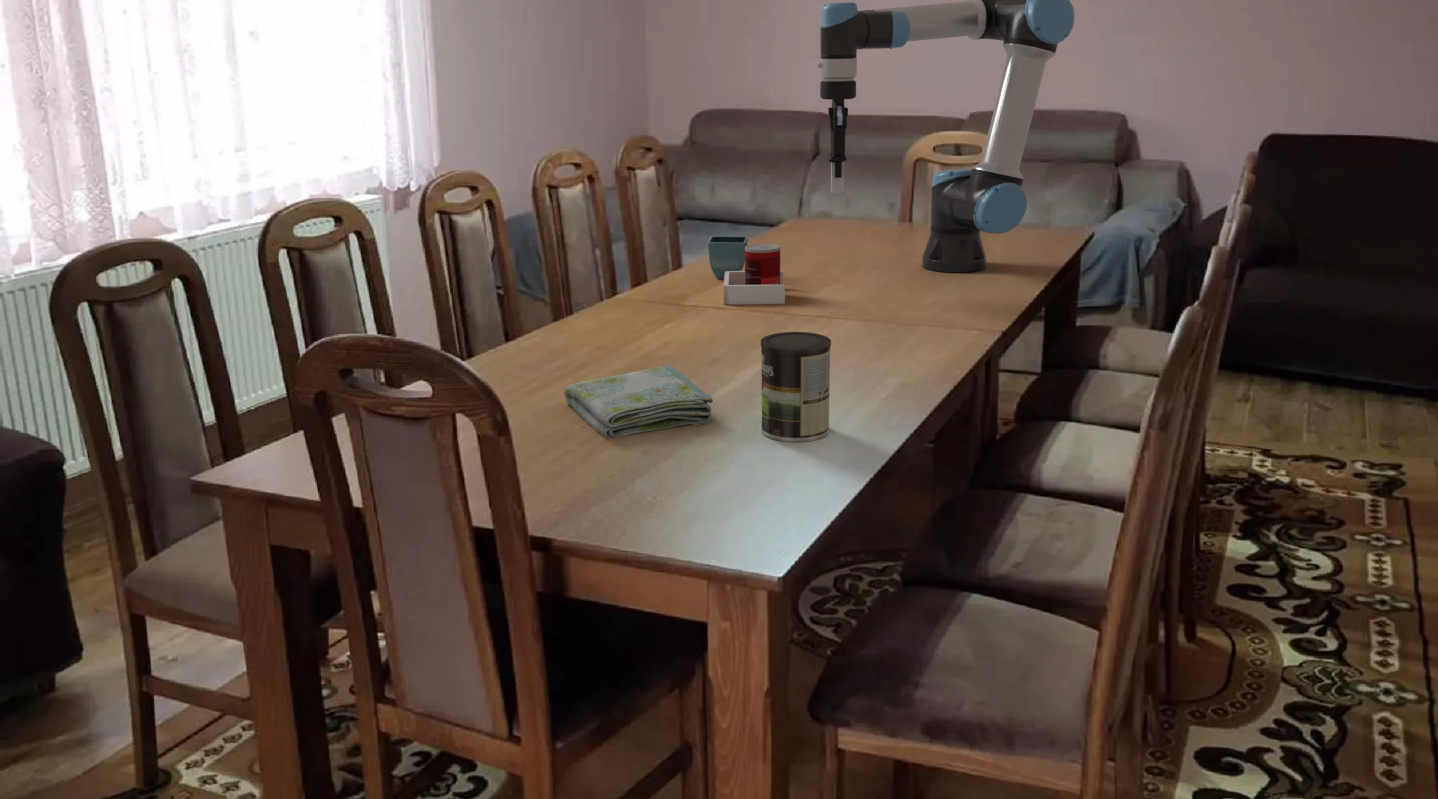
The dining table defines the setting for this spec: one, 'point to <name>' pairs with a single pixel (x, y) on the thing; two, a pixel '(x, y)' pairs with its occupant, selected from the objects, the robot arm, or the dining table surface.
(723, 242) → the flower pot
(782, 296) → the white open tray
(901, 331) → the dining table surface
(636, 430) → the towel
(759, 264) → the canned food
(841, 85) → the robot arm
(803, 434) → the coffee can
